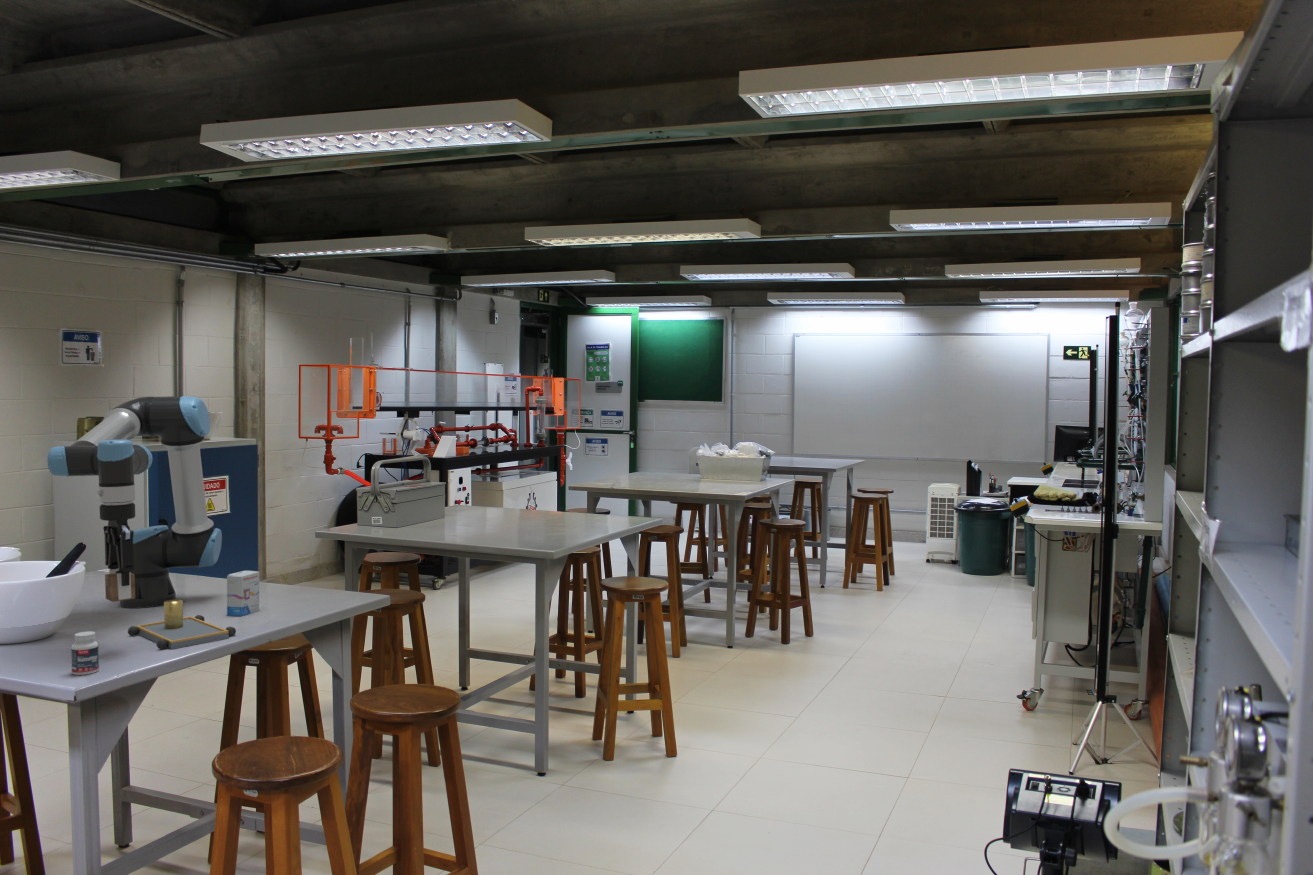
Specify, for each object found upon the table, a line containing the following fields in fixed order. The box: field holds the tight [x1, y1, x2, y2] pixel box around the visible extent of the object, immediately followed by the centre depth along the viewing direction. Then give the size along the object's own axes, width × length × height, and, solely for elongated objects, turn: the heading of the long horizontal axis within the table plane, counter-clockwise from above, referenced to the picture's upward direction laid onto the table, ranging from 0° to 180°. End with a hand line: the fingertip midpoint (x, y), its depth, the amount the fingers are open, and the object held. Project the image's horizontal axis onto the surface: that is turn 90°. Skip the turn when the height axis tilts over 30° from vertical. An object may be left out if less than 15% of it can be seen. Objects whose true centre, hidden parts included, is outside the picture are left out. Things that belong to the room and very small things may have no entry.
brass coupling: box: [163, 598, 184, 629], centre depth 242 cm, size 4×4×7 cm
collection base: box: [127, 614, 237, 650], centre depth 239 cm, size 24×19×2 cm
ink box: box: [226, 570, 260, 617], centre depth 265 cm, size 8×5×12 cm, turn 168°
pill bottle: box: [70, 631, 100, 676], centre depth 207 cm, size 5×5×9 cm
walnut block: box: [104, 573, 135, 603], centre depth 224 cm, size 5×5×6 cm
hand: (120, 596), depth 224 cm, fingers closed on walnut block, 5 cm apart
